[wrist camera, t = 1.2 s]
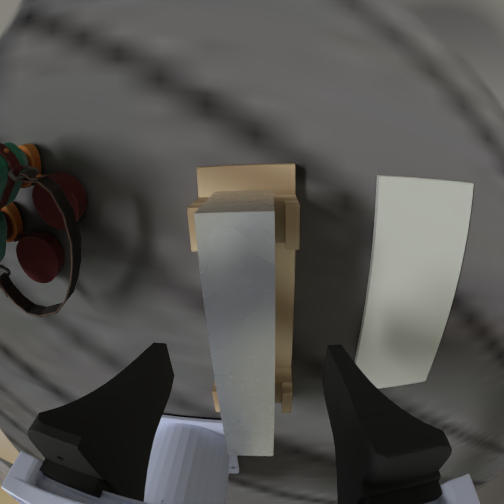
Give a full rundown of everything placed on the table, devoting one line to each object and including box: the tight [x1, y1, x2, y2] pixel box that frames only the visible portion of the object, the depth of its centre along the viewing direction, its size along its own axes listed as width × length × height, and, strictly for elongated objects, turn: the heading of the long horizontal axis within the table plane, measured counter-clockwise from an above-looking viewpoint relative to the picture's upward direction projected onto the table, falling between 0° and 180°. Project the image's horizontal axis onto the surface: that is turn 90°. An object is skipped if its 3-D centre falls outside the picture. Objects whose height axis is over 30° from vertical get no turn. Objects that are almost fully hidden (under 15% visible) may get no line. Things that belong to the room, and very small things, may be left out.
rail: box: [194, 190, 275, 456], centre depth 14 cm, size 14×3×4 cm, turn 2°
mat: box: [354, 175, 474, 389], centre depth 17 cm, size 15×6×1 cm, turn 2°
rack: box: [187, 163, 300, 413], centre depth 17 cm, size 16×5×3 cm, turn 2°
